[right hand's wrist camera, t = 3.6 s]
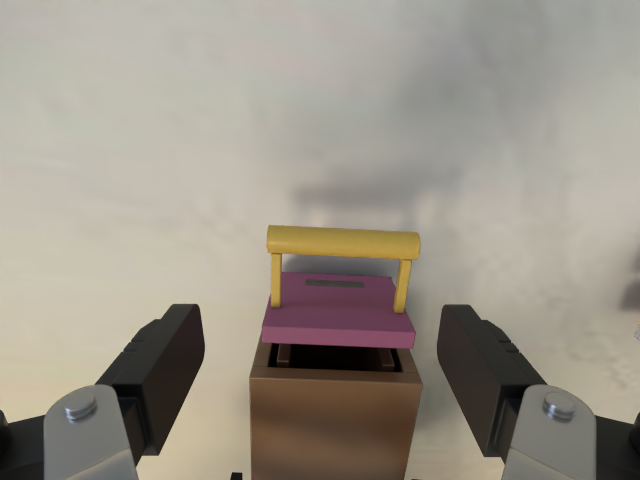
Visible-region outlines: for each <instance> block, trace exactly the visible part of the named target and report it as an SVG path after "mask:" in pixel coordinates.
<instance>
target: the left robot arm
mask: <svg viewBox="0 0 640 480" xmlns="http://www.w3.org/2000/svg"><path fill="white" fill-rule="evenodd" d="M230 480H242V473H233V472H232V475H231V479H230ZM412 480H416V479H412Z"/></svg>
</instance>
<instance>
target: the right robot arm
mask: <svg viewBox="0 0 640 480" xmlns="http://www.w3.org/2000/svg"><path fill="white" fill-rule="evenodd" d="M204 352H205V342H204V335H203V328H202V321H201V314H200V308H199V306H198V305H197V304H173V305H171V307H170V308H169V309H168V310H167V312H166V313H165V314H164V316H163V317H162V318H161V319H155V320H153V321H152V322H150V323H149V324H147V325H146V326H144V327H143V328H141V329H140V330H139V332H138V333H137V334H136V335H135V336H134V338H133V339H132V340H131V342H129V344H128V345H127V346H126V347H125V348H124V351H123V352H121V353H120V354H119V356H118V357H117V358H116V359H115V360H114V362H113V363H112V364H111V365H110V366H109V368H108V369H107V370H106V371H105V373H104V374H103V375H102V376H101V377H100V379H99V380H98V381H97V382H96V383H95V385H90V386H86V387H83V388H80V389H77V390H75V391H73V392H71V393H69V394H67V395H65V396H64V397H62V398H61V399H60V400H58V401H57V402H56V403H55V404H54V405H53V406H52V407H51V408H50V409H49V410H48V412H47V413H46V415H42V416H38V417H34V418H30V419H25V420H21V421H17V422H13V423H7V420H6V418H5V416H4V413H3V412H2V411H1V410H0V480H139V479H138V475H137V471H136V466H137V464H138V462H139V460H140V458H141V457H142V456H159V454H160V452H161V449H162V447H163V445H164V443H165V441H166V439H167V437H168V435H169V432H170V430H171V428H172V426H173V424H174V422H175V420H176V418H177V415H178V413H179V411H180V409H181V407H182V405H183V403H184V401H185V398H186V396H187V394H188V392H189V390H190V388H191V386H192V384H193V381H194V379H195V377H196V375H197V373H198V371H199V369H200V367H201V364H202V362H203V358H204ZM437 355H438V360H439V363H440V366H441V368H442V370H443V372H444V374H445V376H446V378H447V380H448V382H449V384H450V387H451V389H452V391H453V393H454V395H455V397H456V399H457V401H458V403H459V405H460V408H461V410H462V412H463V414H464V416H465V418H466V420H467V422H468V424H469V426H470V429H471V431H472V433H473V435H474V437H475V439H476V441H477V443H478V445H479V447H480V450H481V452H482V454H483V456H484V457H501V458H502V460H503V462H504V464H505V467H504V471H503V475H502V479H501V480H640V412H639V414H638V416H637V418H636V420H635V423H634V425H633V424H629V423H625V422H621V421H616V420H612V419H608V418H604V417H599V416H596V415H594V413H593V412H592V410H591V409H590V408H589V407H588V406H587V405H586V404H585V403H584V402H583V401H582V400H580V399H579V398H578V397H576V396H575V395H573V394H571V393H569V392H567V391H565V390H563V389H560V388H557V387H554V386H550V385H547V383H546V382H545V381H544V380H543V379H542V377H541V376H540V375H539V374H538V373H537V371H536V370H535V369H534V368H533V367H532V365H531V364H530V363H529V362H528V361H527V359H526V358H525V357H524V356H523V355H522V353H519V350H518V349H517V347H516V346H515V345H514V344H513V343H511V340H510V339H509V338H508V337H507V336H506V334H505V333H504V332H503V331H502V330H501V329H500V328H498V327H497V326H495V325H494V324H492V323H491V322H489V321H488V320H481V319H480V317H479V316H478V315H477V314H476V312H475V311H474V310H473V308H472V307H471V306H470V305H444V306H443V309H442V313H441V320H440V327H439V334H438V341H437Z"/></svg>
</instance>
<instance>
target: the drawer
mask: <svg viewBox="0 0 640 480" xmlns="http://www.w3.org/2000/svg"><path fill="white" fill-rule="evenodd" d="M267 252H268V253H272V254H271V294H270V298H269V301H268V305H267V309H266V313H265V317H264V320H263V324H262V342H263V343H280V344H279V350H278V356H277V368H300V369H325V370H350V371H376V372H394V366H395V365H394V362H393V359H392V356H391V352H390V349H389V348H407V349H412V348H413V345H414V340H415V334H416V332H415V330H414V328H413V326H412V323H411V321H410V319H409V317H408V314H407V312H406V310H405V308H404V307H405V301H406V294H407V288H408V282H409V275H410V269H411V263H412V260H416V259H417V258H418V256H419V253H420V237H419V234H418V233H417V232H399V231H379V230H359V229H338V228H318V227H298V226H278V225H269V226H268V231H267ZM282 254H302V255H323V256H344V257H365V258H386V259H400V264H399V271H398V278H397V284H396V288H395V286H394V283H393V281H392V279H391V277H378V276H357V275H335V274H313V273H292V272H281V270H282Z"/></svg>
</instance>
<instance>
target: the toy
mask: <svg viewBox="0 0 640 480" xmlns="http://www.w3.org/2000/svg"><path fill="white" fill-rule="evenodd" d="M634 337H635V338H637V339H638V340H639V341H640V322H639V325H638V328H637V330H636V333H635V335H634Z"/></svg>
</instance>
